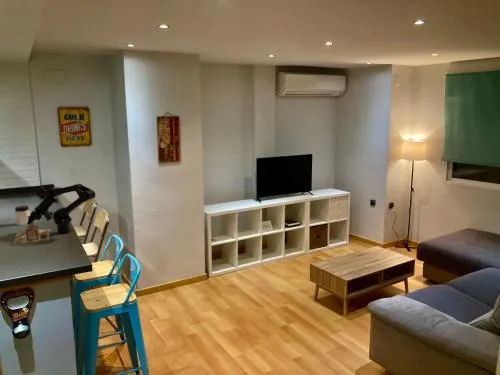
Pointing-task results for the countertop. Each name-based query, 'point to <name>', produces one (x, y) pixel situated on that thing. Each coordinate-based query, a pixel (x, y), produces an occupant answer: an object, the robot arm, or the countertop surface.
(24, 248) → the countertop surface
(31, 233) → the knobbed beige slab
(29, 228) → the tunnel
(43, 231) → the board
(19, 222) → the jar
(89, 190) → the robot arm
